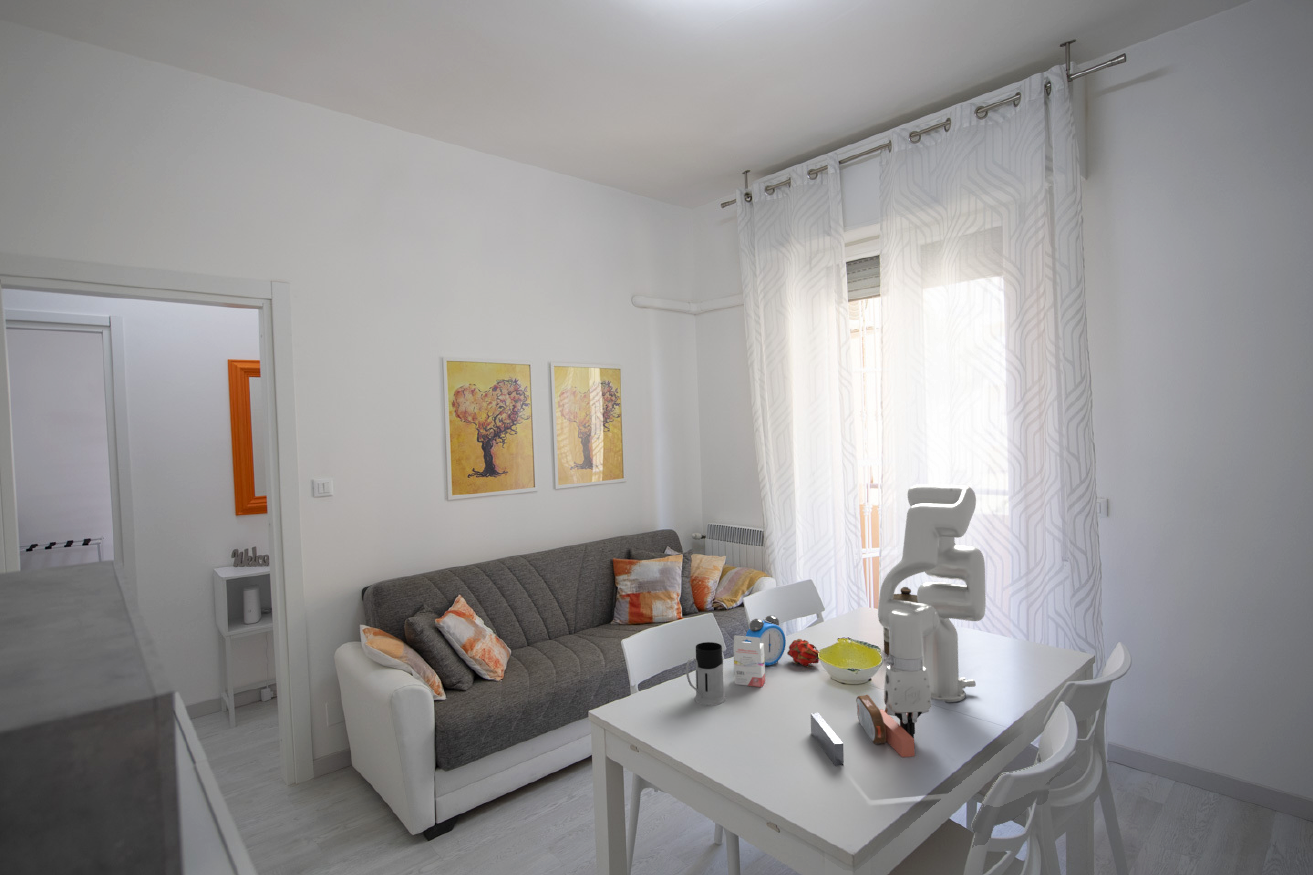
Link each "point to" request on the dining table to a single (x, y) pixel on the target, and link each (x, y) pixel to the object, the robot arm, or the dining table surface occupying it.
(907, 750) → the pink block
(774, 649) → the alarm clock
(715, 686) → the glass holder
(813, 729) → the gray metal bar
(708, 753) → the dining table surface
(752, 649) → the ink cartridge box
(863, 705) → the tin
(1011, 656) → the dining table surface
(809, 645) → the dragon fruit
